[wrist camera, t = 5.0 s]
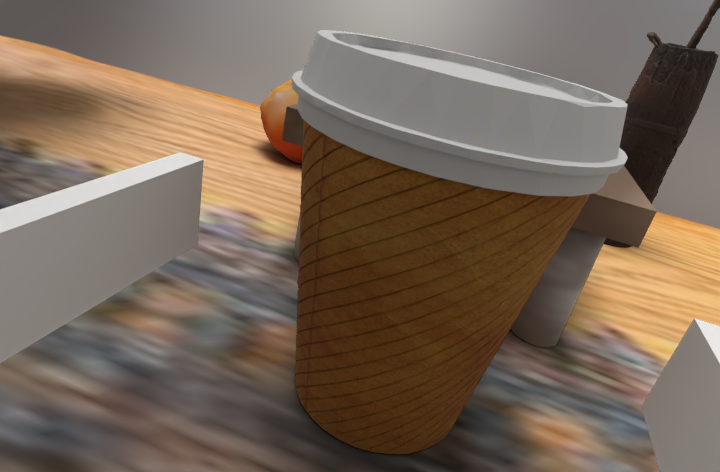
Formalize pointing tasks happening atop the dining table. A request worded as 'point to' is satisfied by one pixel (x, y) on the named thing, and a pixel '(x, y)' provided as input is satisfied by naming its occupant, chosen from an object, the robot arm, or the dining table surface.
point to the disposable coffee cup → (428, 224)
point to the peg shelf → (574, 255)
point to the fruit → (280, 120)
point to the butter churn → (664, 107)
